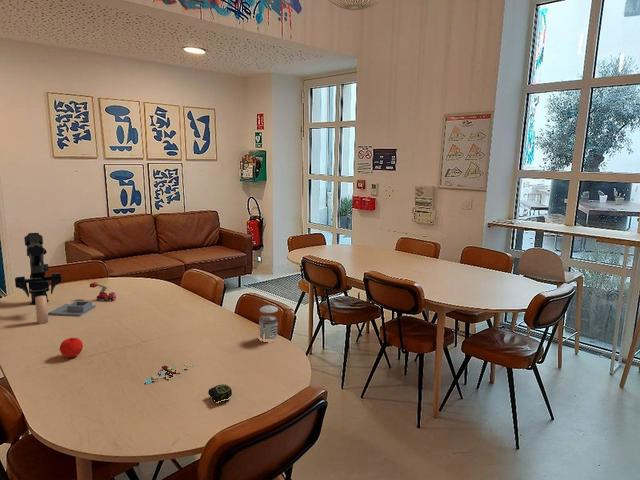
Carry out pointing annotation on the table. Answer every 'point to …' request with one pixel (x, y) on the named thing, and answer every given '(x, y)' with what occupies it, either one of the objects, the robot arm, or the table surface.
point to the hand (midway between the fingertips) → (40, 295)
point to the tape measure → (220, 392)
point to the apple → (71, 347)
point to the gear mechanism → (167, 371)
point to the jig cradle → (73, 309)
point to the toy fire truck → (103, 293)
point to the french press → (268, 319)
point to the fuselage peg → (41, 309)
